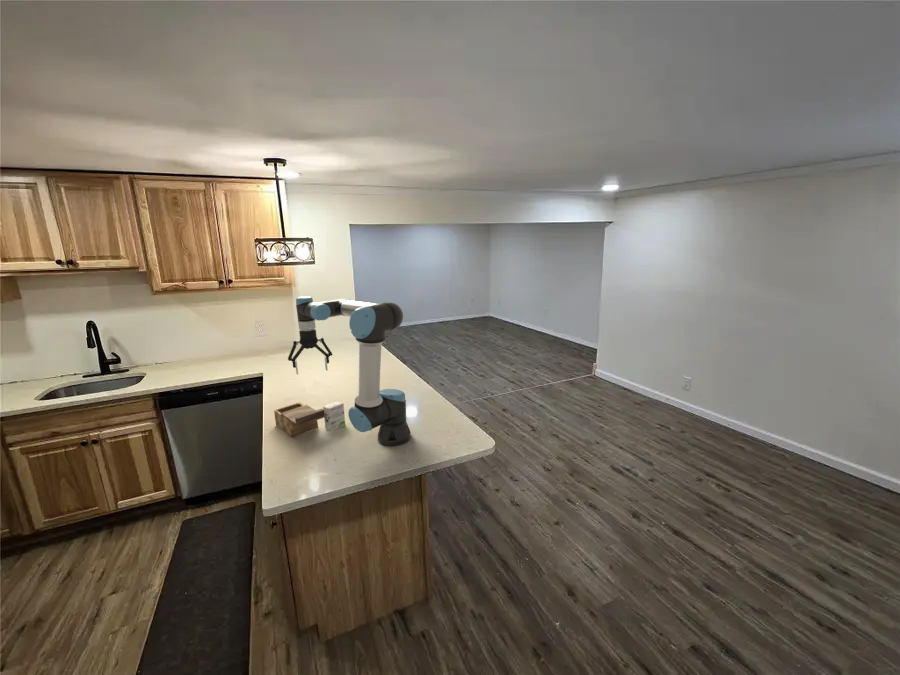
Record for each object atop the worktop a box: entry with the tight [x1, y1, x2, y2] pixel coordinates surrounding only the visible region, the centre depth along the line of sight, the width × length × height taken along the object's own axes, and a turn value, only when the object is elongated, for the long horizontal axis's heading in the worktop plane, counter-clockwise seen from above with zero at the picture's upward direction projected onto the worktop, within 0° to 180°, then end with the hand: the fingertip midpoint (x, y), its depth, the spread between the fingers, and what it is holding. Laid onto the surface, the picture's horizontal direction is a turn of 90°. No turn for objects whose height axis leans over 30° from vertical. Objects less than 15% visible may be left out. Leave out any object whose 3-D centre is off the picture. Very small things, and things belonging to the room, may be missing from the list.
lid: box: [281, 404, 325, 427], centre depth 189 cm, size 18×13×4 cm
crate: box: [273, 401, 319, 438], centre depth 196 cm, size 18×13×8 cm
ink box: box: [322, 400, 346, 432], centre depth 195 cm, size 9×5×12 cm, turn 139°
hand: (312, 371), depth 195 cm, fingers open, 13 cm apart
